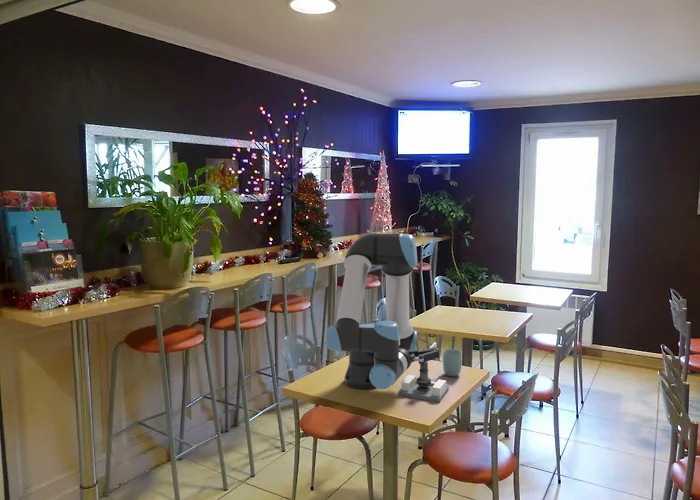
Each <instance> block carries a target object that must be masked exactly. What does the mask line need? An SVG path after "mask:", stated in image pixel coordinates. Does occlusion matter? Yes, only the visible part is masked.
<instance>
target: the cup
mask: <svg viewBox="0 0 700 500" xmlns="http://www.w3.org/2000/svg"><path fill="white" fill-rule="evenodd" d="M462 362H463V352H462V350H460V349H456V348H455V349H453V348H448V349H446V348H445V349H444V350H443V351H442V368H443V369H442V370H443V372H444V374H445V375H446V376H448V377H457V376H459V375H460V373H461V370H462V365H463V364H462Z"/></svg>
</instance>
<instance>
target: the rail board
mask: <svg viewBox="0 0 700 500" xmlns="http://www.w3.org/2000/svg"><path fill="white" fill-rule="evenodd" d="M416 379H417V375H413V374H408V375H407V376H406V377H405V378H404V379H403V380H402V381H401V382H400V384H401V387H400V389H399V390H398V393H397V395H398V396H401V397H405V398H413V399H419V400H423V401H429V402H434V403H441V401H442V400H443V398H444V397H445V396H446V395H447V393H449V390H450V389H449V388H450V386H448V383H447V380H444V379H440V378H439V379H437V381H431V383H430V385H429V386H428V387H429V388H430V389H431V390H430V391H427V392H422V391H418V390H417V387H418V386H419V385H418V384H417V381H416Z"/></svg>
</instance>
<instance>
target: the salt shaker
mask: <svg viewBox="0 0 700 500" xmlns="http://www.w3.org/2000/svg"><path fill="white" fill-rule="evenodd" d="M428 362H429V361H427V362H424V363H423V364H419V366H420V367H419V370H418V371H419V377H416V381H417V384H418V385H419V386H418V387H417V390H418V391H422V392H427V391H430V390H431V389H430V388H429V387H428V386H429V385H430V383H431V381H432V379H431V378H430V377H429V375H428V374H429V369H428V368H429V367H428V365H429V363H428ZM432 382H433V381H432Z"/></svg>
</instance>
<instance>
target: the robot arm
mask: <svg viewBox="0 0 700 500" xmlns="http://www.w3.org/2000/svg"><path fill="white" fill-rule="evenodd" d="M417 250H418V249H417V244H416V238H415V236H414V235H412V234H408V233H376V232H374V233H373V232H372V233H371V232H370V233H367V234H364V235H363V236H361V237H359V238H358V239H356V240H355V241H354V242H353V243H352V244H351V246H350V247H349V248H348V250H347V252H346V255H345V257H344V262H343V266H344V268H345V273H344V278H343V283H342V288H341V294H340V299H339V304H338V305H339V306H338V308H337V309H338V311H337V317H336V321H335V325H329V326H328V327H327V329H326V332H325V333H326V334H325V344H326V348H327V349H328V350H331V351H336V352H348V354H349V355H348V366H347V369H346V372H345V375H344V384H345V385H346V386H347V387H349V388H351V389H355V390H356V389H357V390H370V389H375V388H376V389H377V390H378V389H379V390H387V389H388V388H390V387H392V386H393V385H394V384H395V383H396V382H397V380H398V379H400V377H401V376H402V375H403V374H405V372H406V371H407V370H408V369H409V368H410V367H411V364H412V363H415V362H418V364H419V365H420V364H423V363H424V362H429V361H432V360H436V359H439V358H440V350H439V349H437V342H436V341H435V342H433V343H432V344H431V345H430V347H429V348H427V349H422V350H417V349H416V346H417V338H418V331H417V330H415V329H414V327H413V325H412V324H411V323H410V274H412V273H413V271H414V268H416V267H417V266H418V251H417ZM373 266H374V267H380V268H381V269H380V270H381V272H382V274H383V275H385V301H386V302H385V304H386V320H379V321H375V323H362V324H361V322H362V321H361V320H362V314H363V313H362V312H363V306H364V301H365V294H366V293H365V291H366V285H367V280H368V279H367V278H368V273H369V272H370V271H371V269H372V267H373Z"/></svg>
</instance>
